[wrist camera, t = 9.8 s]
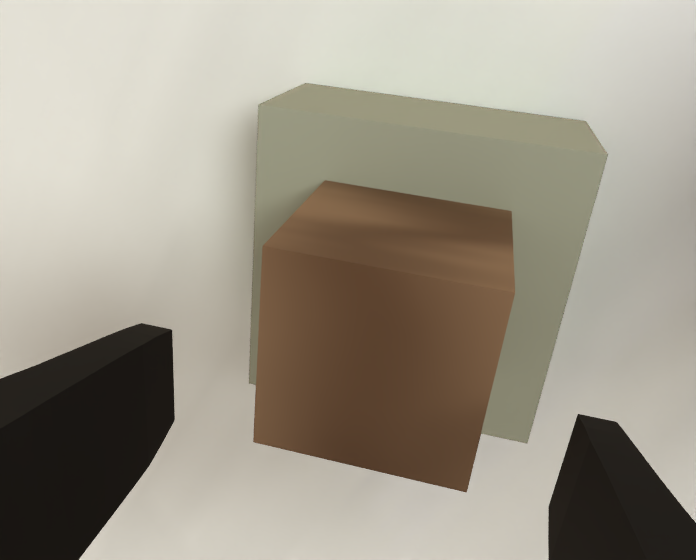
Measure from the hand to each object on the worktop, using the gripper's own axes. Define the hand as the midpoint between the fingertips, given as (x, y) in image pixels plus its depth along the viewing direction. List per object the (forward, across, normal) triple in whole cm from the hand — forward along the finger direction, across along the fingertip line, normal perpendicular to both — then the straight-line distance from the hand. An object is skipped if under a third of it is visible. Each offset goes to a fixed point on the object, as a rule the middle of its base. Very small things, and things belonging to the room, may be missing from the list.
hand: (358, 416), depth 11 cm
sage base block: (+10, 0, 0) cm, 10 cm away
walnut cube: (+6, 0, 0) cm, 6 cm away
